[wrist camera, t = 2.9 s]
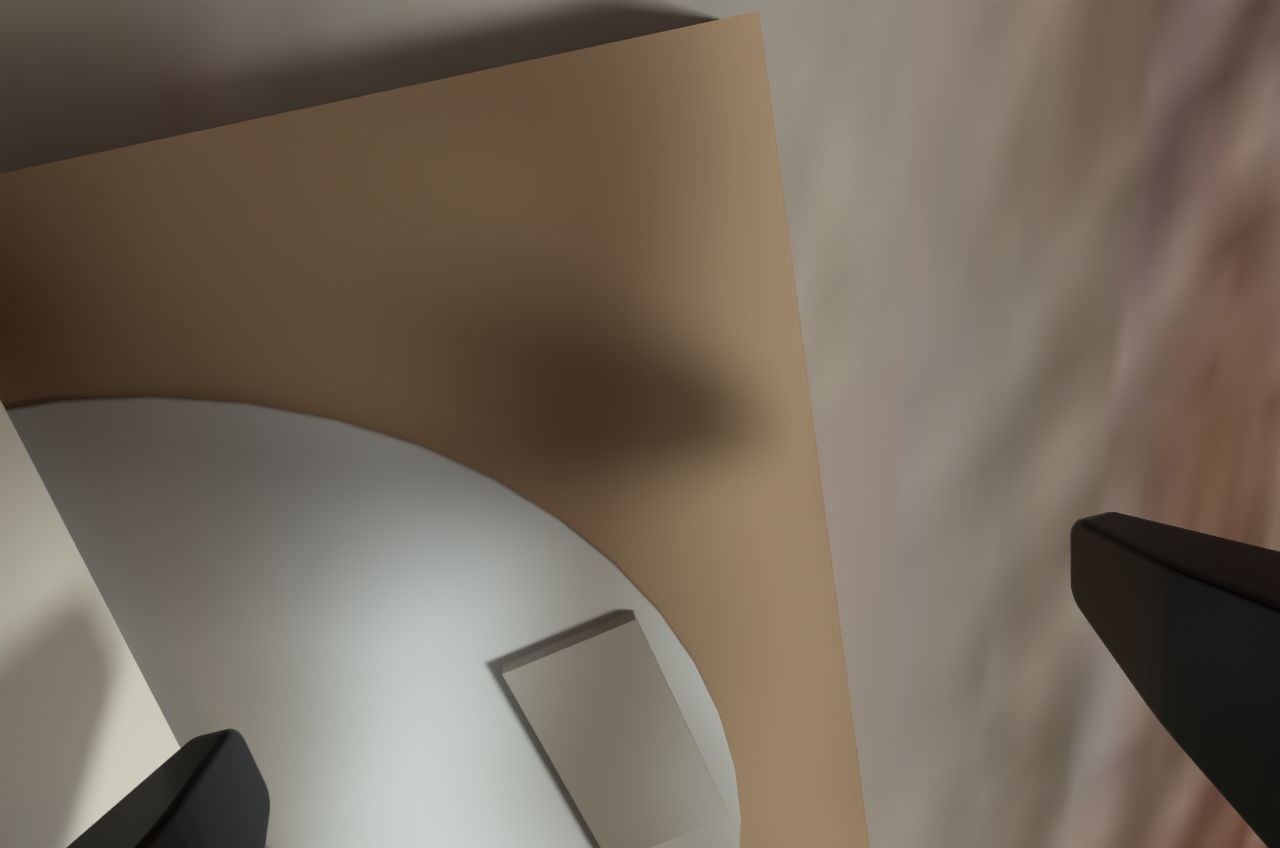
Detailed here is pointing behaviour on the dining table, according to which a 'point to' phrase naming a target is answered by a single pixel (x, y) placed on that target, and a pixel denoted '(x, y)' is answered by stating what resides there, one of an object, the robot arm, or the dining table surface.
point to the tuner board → (457, 451)
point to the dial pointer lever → (61, 676)
